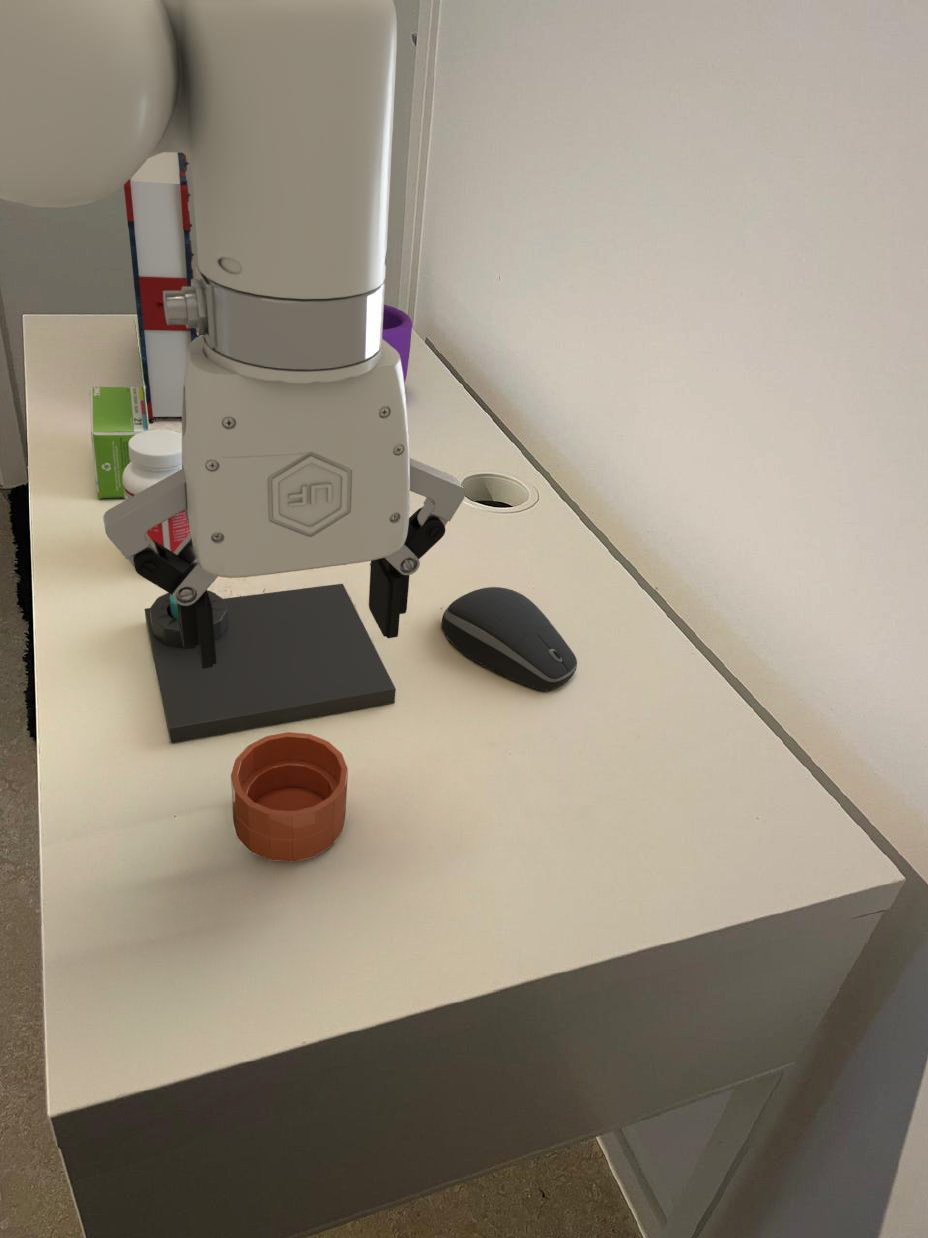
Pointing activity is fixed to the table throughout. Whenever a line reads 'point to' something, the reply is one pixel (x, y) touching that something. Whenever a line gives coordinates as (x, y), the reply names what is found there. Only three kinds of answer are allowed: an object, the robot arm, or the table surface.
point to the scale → (267, 662)
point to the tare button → (173, 608)
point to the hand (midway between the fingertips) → (296, 636)
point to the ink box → (115, 431)
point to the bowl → (289, 796)
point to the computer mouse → (509, 637)
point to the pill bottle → (156, 478)
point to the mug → (398, 333)
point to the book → (160, 274)
